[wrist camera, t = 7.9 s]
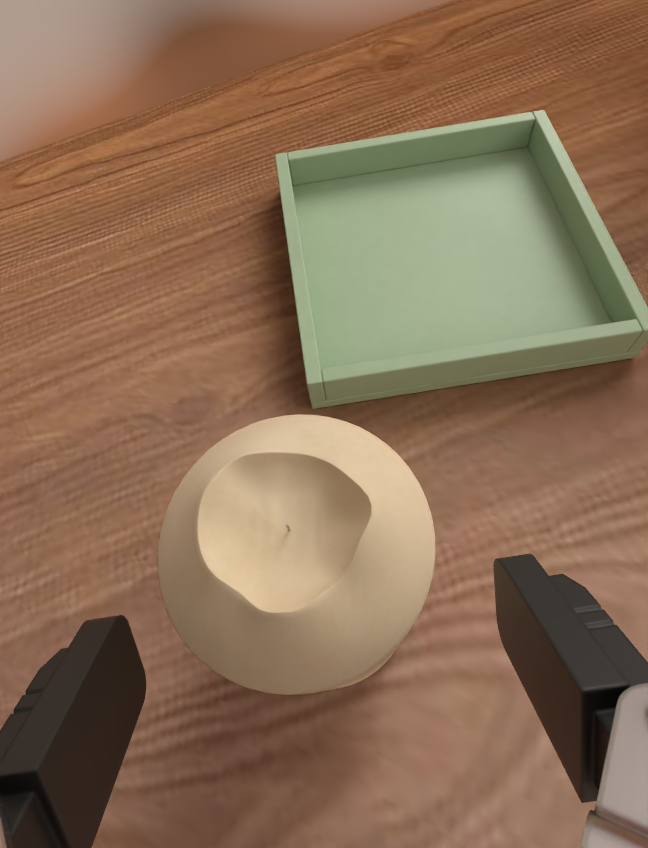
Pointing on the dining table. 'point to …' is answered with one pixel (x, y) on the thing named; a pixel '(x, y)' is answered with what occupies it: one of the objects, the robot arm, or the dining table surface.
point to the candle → (296, 555)
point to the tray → (450, 261)
